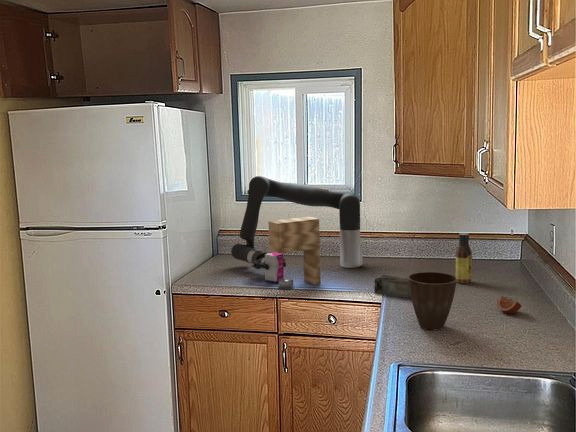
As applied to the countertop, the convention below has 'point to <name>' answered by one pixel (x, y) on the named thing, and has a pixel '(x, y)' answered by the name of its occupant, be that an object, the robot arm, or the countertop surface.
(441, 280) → the plant pot
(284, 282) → the dark gray cylinder
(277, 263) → the supplement box
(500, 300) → the fruit slice
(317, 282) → the wooden l-shaped block
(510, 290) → the countertop surface
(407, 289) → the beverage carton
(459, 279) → the sauce bottle
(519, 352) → the countertop surface
